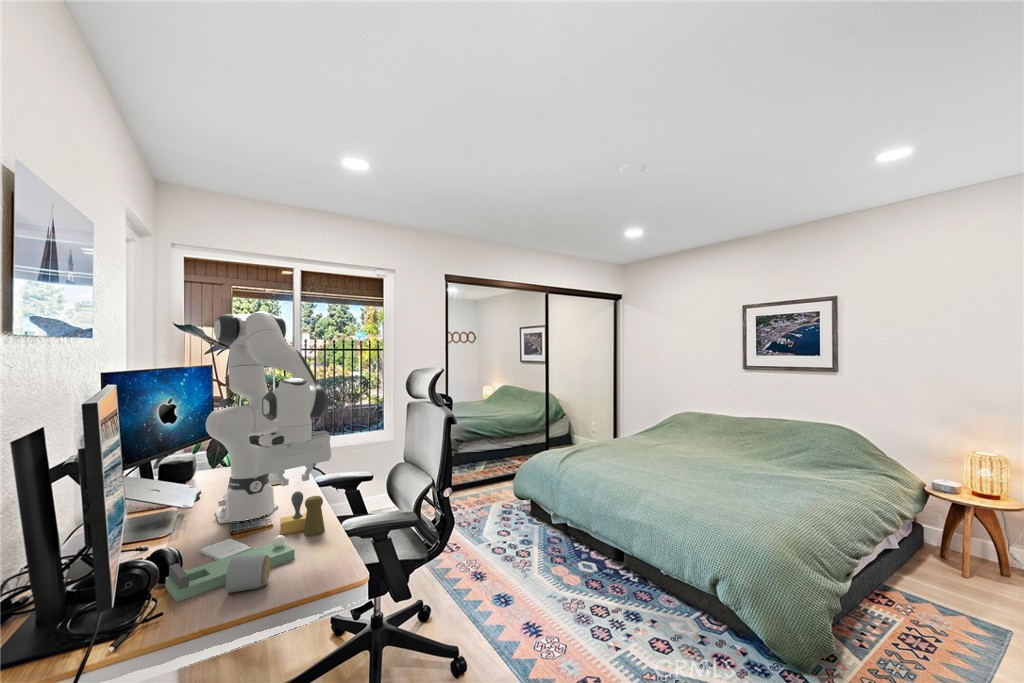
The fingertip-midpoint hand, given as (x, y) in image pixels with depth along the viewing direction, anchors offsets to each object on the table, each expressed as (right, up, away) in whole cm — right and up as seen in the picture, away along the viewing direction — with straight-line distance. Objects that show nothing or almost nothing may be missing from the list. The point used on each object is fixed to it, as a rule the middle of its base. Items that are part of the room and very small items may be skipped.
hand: (295, 482), depth 122 cm
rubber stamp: (-7, -20, +15) cm, 26 cm away
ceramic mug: (-1, -19, -19) cm, 27 cm away
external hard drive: (-20, -21, 0) cm, 29 cm away
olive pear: (0, -20, +12) cm, 23 cm away
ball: (-2, -17, -4) cm, 17 cm away
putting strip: (-9, -19, -13) cm, 25 cm away
